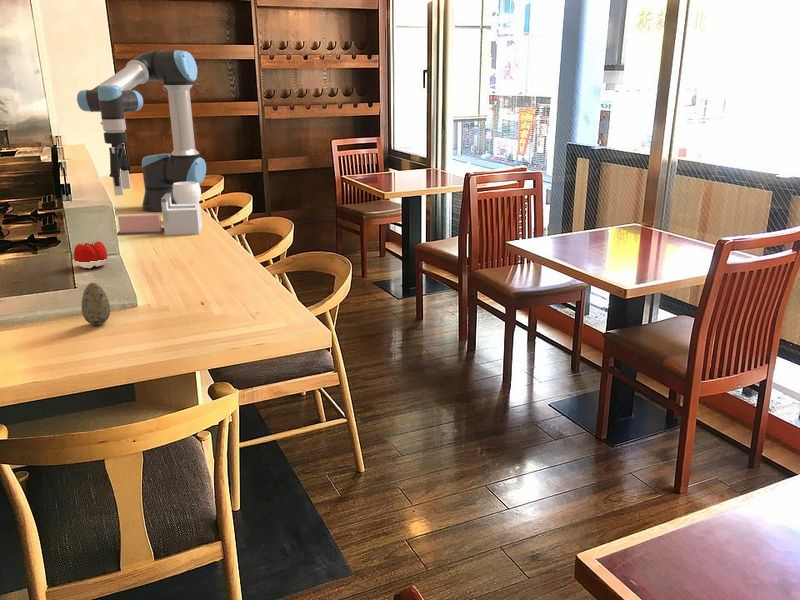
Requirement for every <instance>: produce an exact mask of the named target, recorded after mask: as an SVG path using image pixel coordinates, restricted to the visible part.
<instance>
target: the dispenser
mask: <svg viewBox="0 0 800 600" xmlns="http://www.w3.org/2000/svg"><path fill="white" fill-rule="evenodd" d="M161 204H162V211H161V212H162V222H163V227H164V236H181V235H182V236H183V235H184V236H185V235H186V236H187V235H200V233H201V231H202V228H203V220H202V209H201V208H202V207H201V203H198V204H172V203H171V193H166V194H165V195H164V196H163V197H162V198H161Z"/></svg>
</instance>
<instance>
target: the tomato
mask: <svg viewBox="0 0 800 600" xmlns="http://www.w3.org/2000/svg"><path fill="white" fill-rule="evenodd" d="M91 243H92V244H89V243H85V244H84V245H83V243H78V244H77V245H75V247H74V250H73V258H74V262H75V261H79V262H90V261H98V260H104V259H107V260H108V252H107V249H106V246H105V244H104V243H102V242H101V241H98V240H97V241H95V242H91ZM93 244H94V245H93Z"/></svg>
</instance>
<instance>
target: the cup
mask: <svg viewBox="0 0 800 600" xmlns="http://www.w3.org/2000/svg"><path fill="white" fill-rule="evenodd" d="M201 196H202V189H201V186H200V184H199V183H198V182H177V183H174V184H173V197H174V199H175V202H176V203H177V204H200V200H201Z"/></svg>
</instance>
